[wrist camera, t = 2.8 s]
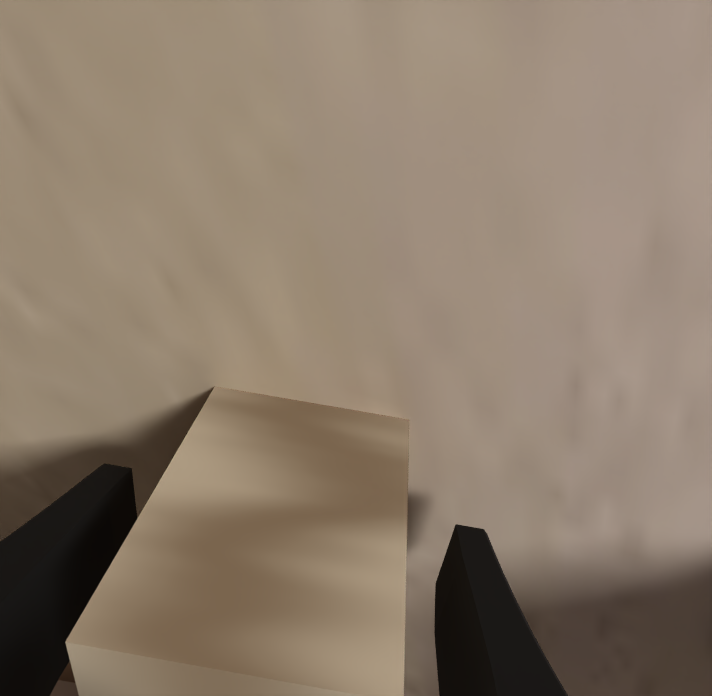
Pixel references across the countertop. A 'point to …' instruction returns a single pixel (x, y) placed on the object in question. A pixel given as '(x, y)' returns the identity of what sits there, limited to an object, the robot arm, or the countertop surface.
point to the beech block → (260, 561)
